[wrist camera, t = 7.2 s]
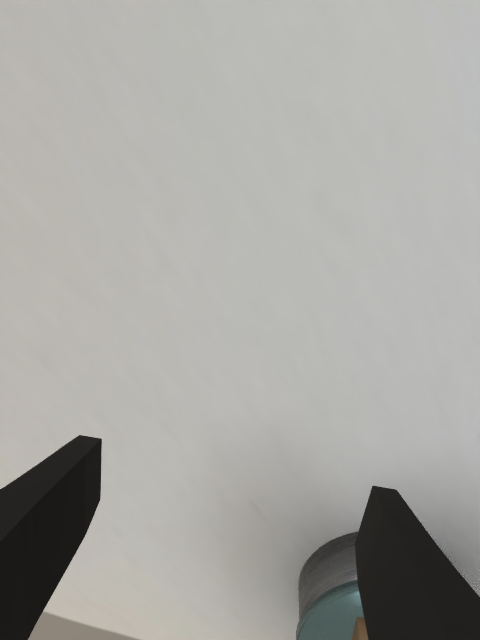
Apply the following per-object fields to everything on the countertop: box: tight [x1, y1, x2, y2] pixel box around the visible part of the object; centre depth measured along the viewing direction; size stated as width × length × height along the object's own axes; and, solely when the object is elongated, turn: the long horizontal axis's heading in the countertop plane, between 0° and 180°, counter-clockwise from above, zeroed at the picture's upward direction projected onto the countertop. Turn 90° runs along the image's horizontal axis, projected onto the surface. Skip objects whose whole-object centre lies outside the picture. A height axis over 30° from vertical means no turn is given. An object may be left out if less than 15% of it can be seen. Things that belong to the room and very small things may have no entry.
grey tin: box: [296, 532, 452, 640], centre depth 24 cm, size 9×9×4 cm
